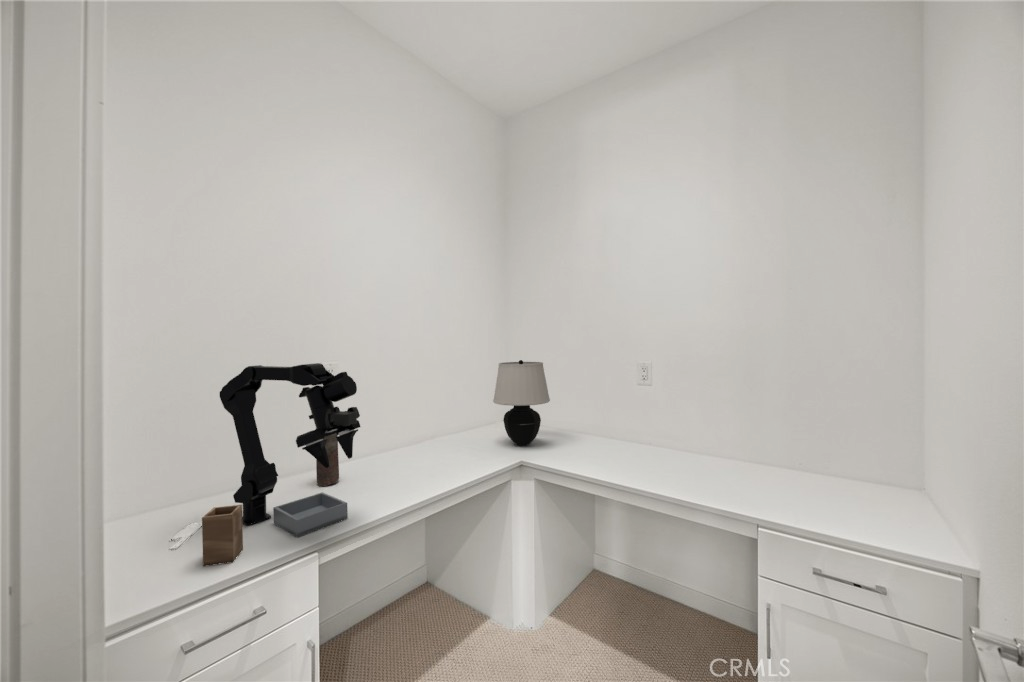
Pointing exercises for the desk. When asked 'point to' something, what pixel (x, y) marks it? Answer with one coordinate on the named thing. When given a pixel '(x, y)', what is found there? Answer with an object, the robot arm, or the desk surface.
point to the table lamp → (521, 398)
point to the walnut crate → (222, 534)
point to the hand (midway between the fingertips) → (339, 462)
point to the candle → (331, 473)
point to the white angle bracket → (185, 534)
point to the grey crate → (309, 514)
